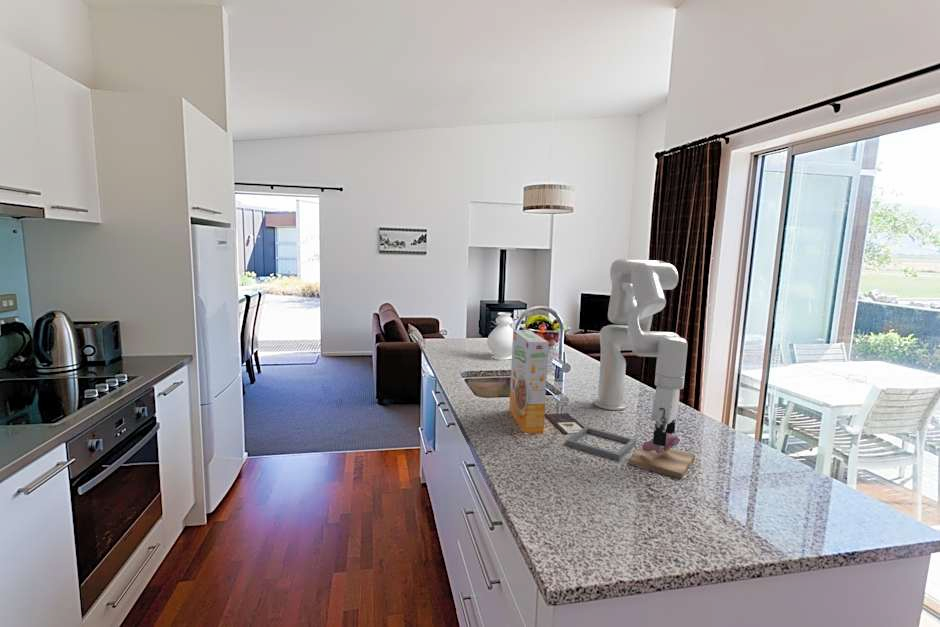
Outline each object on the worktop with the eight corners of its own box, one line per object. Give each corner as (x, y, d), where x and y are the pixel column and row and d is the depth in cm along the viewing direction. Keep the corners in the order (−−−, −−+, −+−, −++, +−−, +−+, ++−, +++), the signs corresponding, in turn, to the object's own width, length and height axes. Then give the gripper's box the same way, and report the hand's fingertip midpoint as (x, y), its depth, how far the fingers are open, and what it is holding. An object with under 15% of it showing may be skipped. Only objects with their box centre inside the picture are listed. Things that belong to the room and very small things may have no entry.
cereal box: (509, 410, 174) (513, 330, 170) (525, 410, 175) (530, 330, 171) (524, 433, 152) (529, 341, 148) (543, 433, 153) (548, 342, 149)
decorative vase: (502, 353, 275) (504, 310, 271) (525, 359, 261) (527, 314, 258) (479, 356, 263) (481, 312, 260) (502, 363, 250) (504, 316, 246)
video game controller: (649, 460, 133) (661, 443, 129) (639, 447, 136) (650, 430, 133) (673, 454, 138) (685, 438, 134) (663, 442, 141) (674, 426, 137)
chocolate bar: (567, 413, 172) (589, 431, 155) (567, 415, 172) (589, 434, 155) (544, 414, 170) (563, 432, 153) (544, 416, 170) (563, 435, 153)
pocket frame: (585, 430, 157) (586, 426, 156) (635, 444, 147) (636, 439, 147) (565, 444, 144) (566, 440, 144) (618, 460, 135) (619, 455, 134)
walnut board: (645, 446, 146) (645, 441, 145) (694, 459, 137) (695, 454, 137) (628, 463, 133) (628, 458, 133) (681, 479, 125) (682, 473, 124)
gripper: (663, 372, 141) (658, 427, 144) (646, 384, 127) (640, 445, 130) (690, 377, 137) (684, 434, 139) (675, 390, 123) (669, 453, 125)
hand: (663, 439), depth 134 cm, fingers closed on video game controller, 9 cm apart
